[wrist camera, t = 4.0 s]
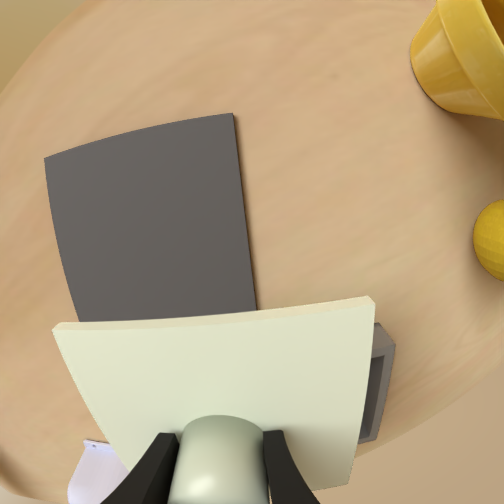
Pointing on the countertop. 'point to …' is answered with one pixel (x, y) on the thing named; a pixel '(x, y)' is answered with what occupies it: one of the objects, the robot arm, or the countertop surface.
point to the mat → (153, 223)
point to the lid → (230, 392)
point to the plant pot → (462, 56)
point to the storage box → (377, 383)
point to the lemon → (491, 239)
